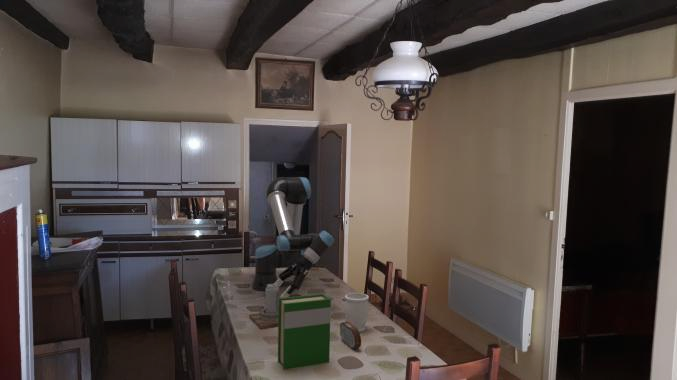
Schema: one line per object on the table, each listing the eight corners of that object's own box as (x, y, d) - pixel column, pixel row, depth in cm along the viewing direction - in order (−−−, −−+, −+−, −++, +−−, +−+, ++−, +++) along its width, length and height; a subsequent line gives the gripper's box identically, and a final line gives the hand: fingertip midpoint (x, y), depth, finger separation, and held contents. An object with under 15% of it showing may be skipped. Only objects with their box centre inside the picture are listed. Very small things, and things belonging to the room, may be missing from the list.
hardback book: (283, 369, 179) (284, 304, 177) (277, 361, 186) (278, 298, 184) (329, 362, 186) (330, 299, 184) (321, 354, 193) (323, 293, 191)
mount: (249, 317, 232) (249, 308, 232) (281, 313, 240) (281, 304, 239) (260, 329, 218) (260, 319, 218) (294, 324, 226) (294, 314, 225)
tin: (361, 351, 198) (362, 330, 197) (354, 352, 196) (355, 331, 196) (345, 337, 211) (345, 318, 210) (338, 338, 210) (338, 319, 209)
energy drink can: (266, 315, 232) (266, 283, 231) (279, 315, 232) (279, 283, 231) (264, 319, 226) (264, 286, 225) (277, 320, 226) (277, 287, 225)
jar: (355, 323, 229) (356, 291, 227) (372, 329, 221) (373, 296, 220) (339, 329, 221) (339, 295, 220) (356, 335, 214) (357, 301, 212)
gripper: (324, 270, 225) (292, 307, 219) (302, 258, 247) (273, 292, 241) (313, 260, 222) (281, 297, 216) (292, 249, 244) (262, 282, 238)
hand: (277, 294), depth 229 cm, fingers open, 13 cm apart
